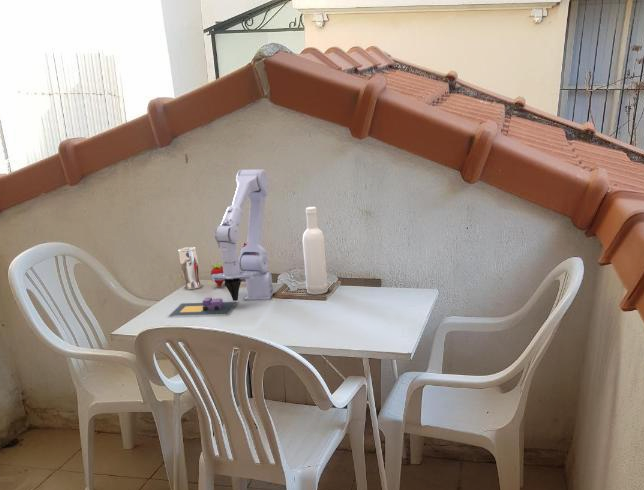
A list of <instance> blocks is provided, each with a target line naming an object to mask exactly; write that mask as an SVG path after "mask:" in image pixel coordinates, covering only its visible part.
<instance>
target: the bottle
mask: <svg viewBox="0 0 644 490" xmlns="http://www.w3.org/2000/svg"><path fill="white" fill-rule="evenodd" d="M317 213H318V211H317V207H316V206H307V207H306V208H305V216H306V227H307V228H306V229H305V231H304V232H303V235H302V251H303V260H304V261H303V263H304V272H305V273H304V274H305V286H306V293H307V294H309V295H323V294H325V293H328V291H329V289H327V288H328V287H329V285H328V274H327V273H328V272H327V260H326V258H327V257H326V246H325V245H326V244H325V235H324V233H323V231H322V230H321V229H320V228H319V227H318V215H317ZM326 289H327V290H326ZM324 290H325V291H324Z"/></svg>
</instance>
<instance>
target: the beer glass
mask: <svg viewBox="0 0 644 490" xmlns="http://www.w3.org/2000/svg"><path fill="white" fill-rule="evenodd" d="M178 257H179V262H180V267H181V270H182V272H183V275H184V279H185V289H186V290H197V289H200V288H201V287H202V284H201V281H200V277H199V258H198V252H197V248H196V247H194V246H188V247H187V246H186V247H181V248H179V249H178Z"/></svg>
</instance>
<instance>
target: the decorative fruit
mask: <svg viewBox="0 0 644 490" xmlns="http://www.w3.org/2000/svg"><path fill="white" fill-rule="evenodd" d="M218 262H219V261H217V262H216V264H215V265H211V268H210V269H211V270H210V276H211V275H212V274H220V273H223V266H222V264H218ZM214 282H215V284H216V285H217V286H218V287H222V285H223V284H224V282H225V280H215V281H214Z"/></svg>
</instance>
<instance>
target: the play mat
mask: <svg viewBox="0 0 644 490" xmlns="http://www.w3.org/2000/svg"><path fill="white" fill-rule="evenodd" d="M237 302H238V301H223V307H222V308H221V309H220V310H206V311H205V310H203V307H202V306H203V302H189V303H187V302H186V303H181V304H179V306H178V307H177V308H176V309H175V310H174V311H172V313H170V314H169V317H176V316H178V317H179V316H206V315H207V316H209V315H213V316H214V315H228V314H229V312H230V311H231V310H232V309H233V308H234V307H235V306H236V304H237Z"/></svg>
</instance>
